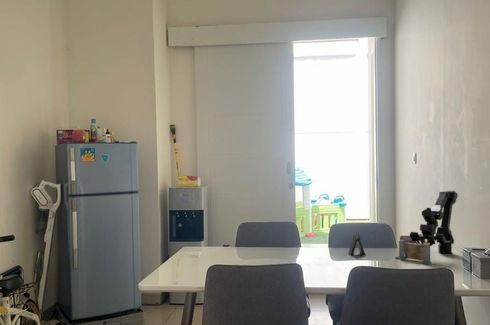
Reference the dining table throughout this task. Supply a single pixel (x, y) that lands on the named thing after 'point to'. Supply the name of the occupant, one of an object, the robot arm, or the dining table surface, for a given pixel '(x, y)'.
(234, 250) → the dining table surface
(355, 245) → the phone stand
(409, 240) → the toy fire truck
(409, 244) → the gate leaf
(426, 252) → the gate posts
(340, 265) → the dining table surface
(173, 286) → the dining table surface
